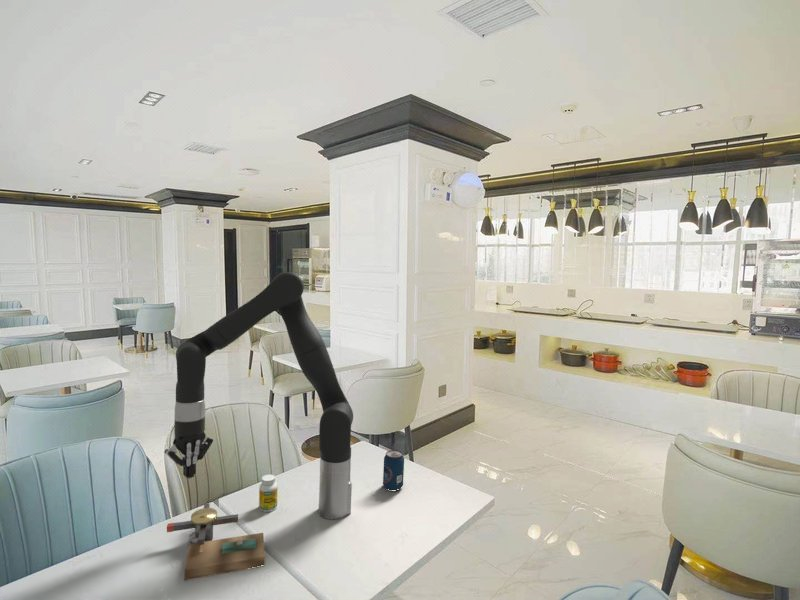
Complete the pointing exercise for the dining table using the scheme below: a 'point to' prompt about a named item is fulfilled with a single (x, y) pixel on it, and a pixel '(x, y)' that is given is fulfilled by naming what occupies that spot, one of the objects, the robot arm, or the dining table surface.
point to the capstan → (202, 524)
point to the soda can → (393, 470)
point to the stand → (224, 556)
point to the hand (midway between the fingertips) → (189, 476)
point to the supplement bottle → (268, 494)
